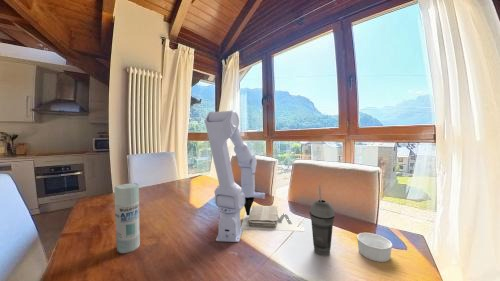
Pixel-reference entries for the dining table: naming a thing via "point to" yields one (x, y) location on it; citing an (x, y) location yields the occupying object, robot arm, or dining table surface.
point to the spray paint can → (127, 217)
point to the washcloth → (263, 216)
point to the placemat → (281, 225)
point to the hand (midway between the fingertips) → (248, 214)
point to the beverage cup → (322, 225)
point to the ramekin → (374, 247)
